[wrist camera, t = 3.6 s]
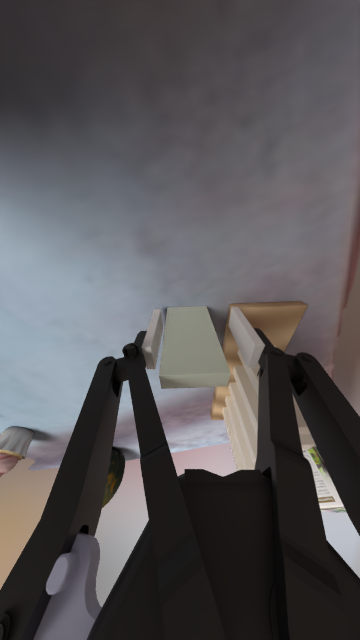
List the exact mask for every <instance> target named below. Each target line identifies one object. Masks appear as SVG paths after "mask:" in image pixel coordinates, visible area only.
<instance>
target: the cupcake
mask: <svg viewBox="0 0 360 640" xmlns="http://www.w3.org/2000/svg"><path fill="white" fill-rule="evenodd" d="M33 436H34V433H33V432H32V431H31V430H29V429H26V428H22V427H9V428H7V429H6V430H5V431H3V432H2V433H1V434H0V477H1V475H3V474H5V473H7V472H9V471H10V470H11V469H13V468H14V466H15V465H16V464H17V462H18V460H21V459H25V457H26V454H27V450H28V447H29V445H30V442H31V440H32V438H33Z"/></svg>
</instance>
